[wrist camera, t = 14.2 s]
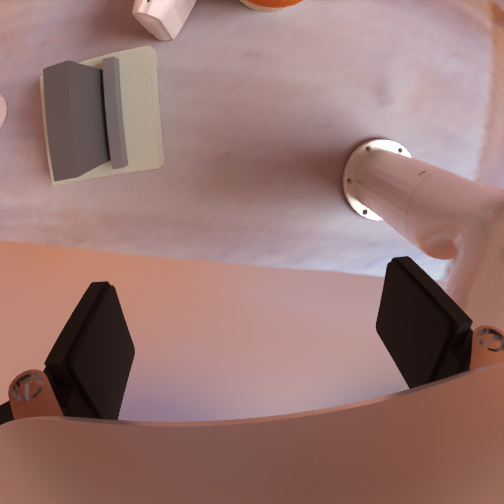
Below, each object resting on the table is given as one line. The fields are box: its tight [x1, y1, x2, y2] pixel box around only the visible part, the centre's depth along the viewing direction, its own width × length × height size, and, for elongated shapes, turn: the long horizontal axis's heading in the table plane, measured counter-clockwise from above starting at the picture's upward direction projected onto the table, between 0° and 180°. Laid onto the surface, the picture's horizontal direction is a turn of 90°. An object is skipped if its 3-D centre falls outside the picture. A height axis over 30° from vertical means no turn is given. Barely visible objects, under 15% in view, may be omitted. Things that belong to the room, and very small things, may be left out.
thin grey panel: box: [43, 61, 111, 182], centre depth 28 cm, size 3×12×10 cm, turn 2°
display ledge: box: [40, 45, 165, 186], centre depth 34 cm, size 16×16×6 cm
